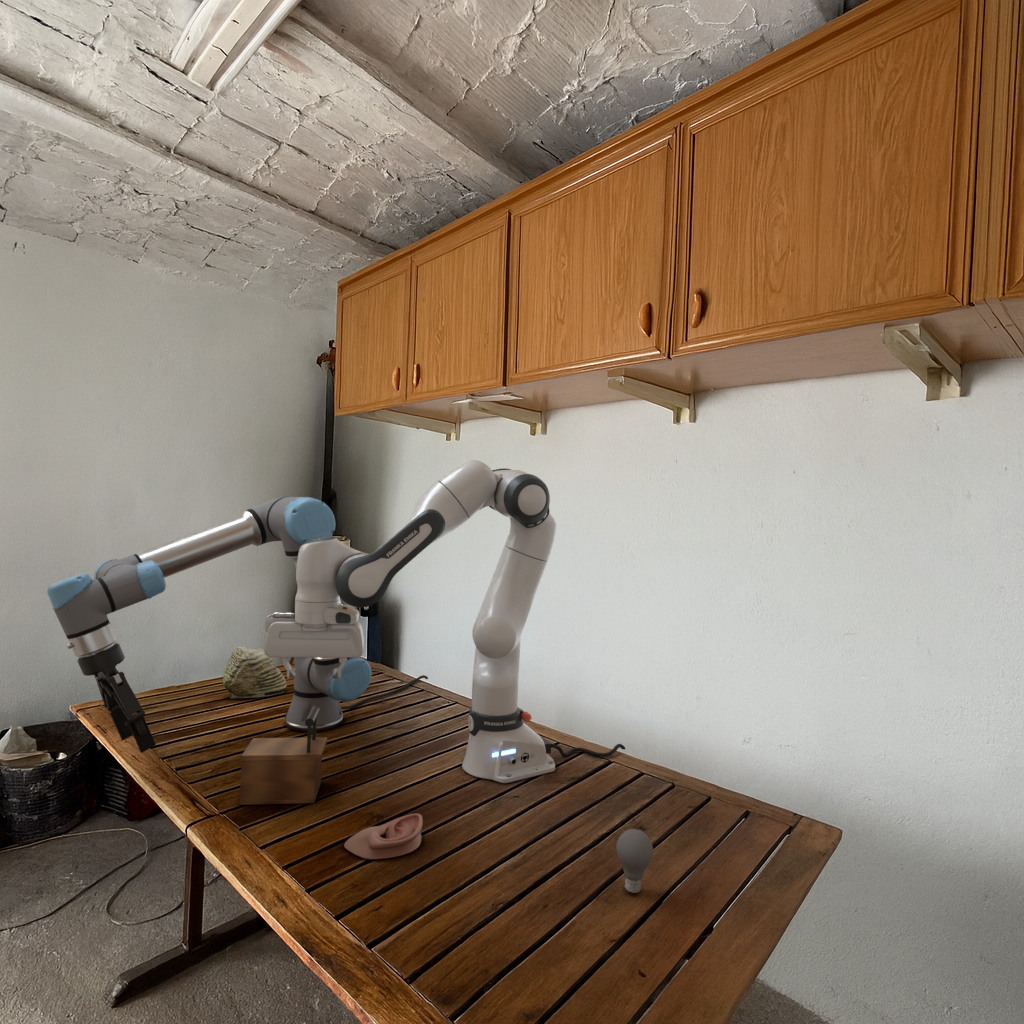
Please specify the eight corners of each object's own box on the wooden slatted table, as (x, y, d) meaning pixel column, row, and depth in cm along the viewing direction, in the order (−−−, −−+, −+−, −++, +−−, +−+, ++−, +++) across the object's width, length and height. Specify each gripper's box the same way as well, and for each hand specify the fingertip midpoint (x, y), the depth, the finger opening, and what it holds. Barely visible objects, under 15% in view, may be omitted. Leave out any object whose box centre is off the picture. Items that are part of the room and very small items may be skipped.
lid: (327, 742, 140) (328, 704, 140) (320, 760, 131) (322, 719, 131) (253, 743, 138) (254, 705, 138) (241, 761, 129) (242, 720, 128)
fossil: (218, 695, 195) (220, 647, 195) (278, 685, 208) (279, 640, 207) (228, 703, 189) (230, 653, 188) (289, 692, 201) (290, 645, 201)
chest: (321, 782, 140) (322, 742, 140) (314, 803, 131) (315, 760, 131) (251, 784, 138) (253, 743, 138) (239, 804, 129) (241, 761, 129)
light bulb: (610, 879, 108) (613, 822, 108) (644, 879, 109) (647, 822, 109) (619, 902, 102) (622, 840, 102) (655, 901, 103) (658, 840, 103)
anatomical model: (336, 832, 112) (364, 802, 124) (336, 854, 112) (363, 822, 124) (407, 843, 110) (429, 812, 121) (406, 866, 110) (428, 832, 121)
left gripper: (63, 653, 133) (103, 741, 137) (91, 665, 116) (136, 765, 120) (102, 637, 139) (139, 722, 143) (135, 645, 121) (176, 742, 125)
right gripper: (261, 614, 130) (259, 681, 130) (363, 616, 133) (361, 681, 133) (269, 609, 136) (266, 673, 137) (366, 611, 139) (363, 673, 140)
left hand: (138, 742), depth 131 cm, fingers open, 13 cm apart
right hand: (314, 677), depth 135 cm, fingers open, 8 cm apart
